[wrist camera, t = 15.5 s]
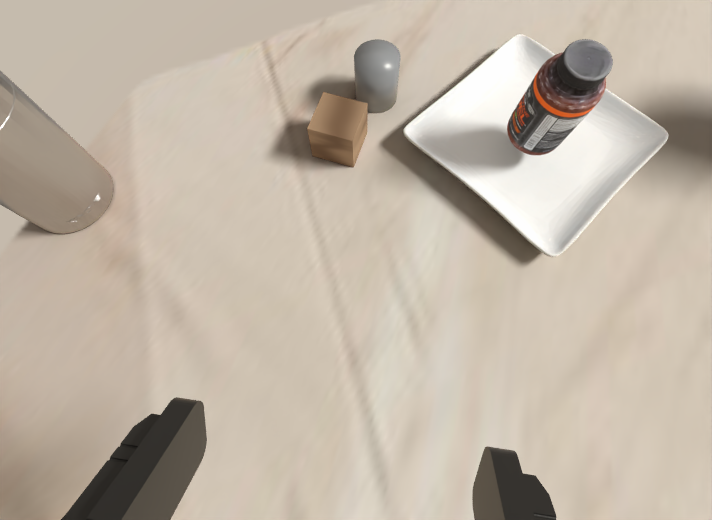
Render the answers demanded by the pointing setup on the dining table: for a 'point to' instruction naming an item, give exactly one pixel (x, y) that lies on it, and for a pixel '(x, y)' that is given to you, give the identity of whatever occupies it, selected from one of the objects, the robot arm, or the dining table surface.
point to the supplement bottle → (560, 97)
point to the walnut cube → (338, 129)
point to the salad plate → (534, 172)
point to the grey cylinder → (377, 74)
